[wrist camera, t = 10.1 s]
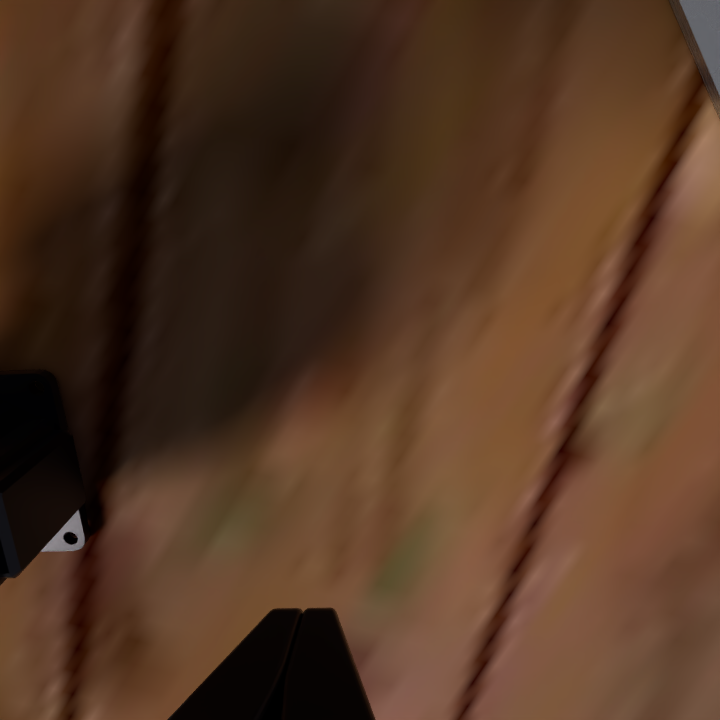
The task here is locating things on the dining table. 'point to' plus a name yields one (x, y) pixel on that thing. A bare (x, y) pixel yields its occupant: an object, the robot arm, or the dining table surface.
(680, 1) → the gate post
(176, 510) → the dining table surface
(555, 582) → the dining table surface
